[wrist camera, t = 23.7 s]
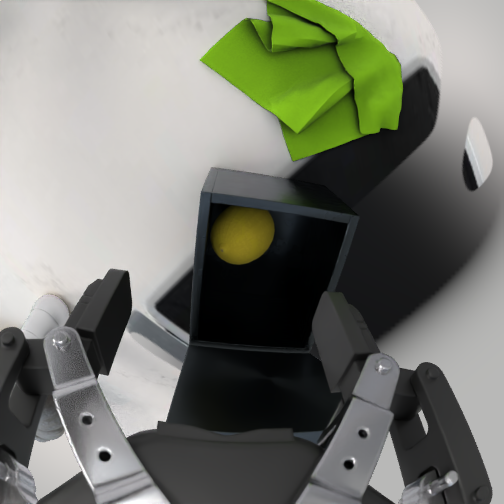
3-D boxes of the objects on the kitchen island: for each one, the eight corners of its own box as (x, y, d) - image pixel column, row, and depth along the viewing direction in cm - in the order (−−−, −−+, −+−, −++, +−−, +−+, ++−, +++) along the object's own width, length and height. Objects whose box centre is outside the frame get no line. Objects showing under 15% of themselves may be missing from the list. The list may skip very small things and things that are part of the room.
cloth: (412, 138, 28) (424, 140, 26) (235, 176, 29) (235, 181, 27) (372, -15, 19) (380, -21, 16) (183, 7, 20) (179, -1, 18)
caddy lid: (164, 425, 10) (166, 495, 10) (403, 417, 12) (379, 481, 12) (189, 344, 27) (186, 389, 26) (310, 353, 28) (303, 395, 28)
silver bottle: (38, 306, 36) (-18, 396, 18) (46, 280, 34) (-23, 377, 16) (68, 328, 38) (20, 425, 20) (79, 305, 36) (21, 411, 18)
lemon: (292, 235, 29) (261, 275, 23) (248, 244, 32) (210, 281, 26) (274, 185, 28) (235, 213, 21) (230, 199, 31) (185, 227, 24)
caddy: (211, 167, 29) (201, 191, 20) (325, 185, 30) (360, 216, 22) (197, 290, 36) (189, 345, 27) (293, 299, 37) (309, 353, 29)
